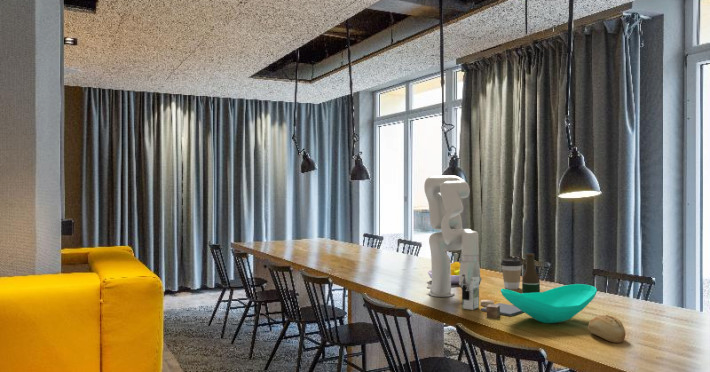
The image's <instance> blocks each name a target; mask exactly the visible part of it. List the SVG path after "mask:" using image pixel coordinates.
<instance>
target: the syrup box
mask: <svg viewBox="0 0 710 372" xmlns="http://www.w3.org/2000/svg"><path fill="white" fill-rule="evenodd" d="M465 284H466V282H465ZM466 286H467V285H465V287H466ZM468 291H469V300H464V299H463V292H462V291H461V308H462V309H464V310H470V311H474V310H476V309H478V308H480V285H479V276H478V277H473V278H471V284H470V285H469V289H468Z"/></svg>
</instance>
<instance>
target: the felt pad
mask: <svg viewBox="0 0 710 372" xmlns="http://www.w3.org/2000/svg"><path fill="white" fill-rule="evenodd" d="M494 305H500V316H507V317H513V316H516V315H519V314H522V313H524V312H523V311H522V310H520V309H519V308H517V307H516V306H514V305H513V304H507V303H501V302H499V303H494ZM480 311H481V312H486V313H487V311H486V306H483V307H481V308H480Z"/></svg>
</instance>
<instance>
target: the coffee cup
mask: <svg viewBox="0 0 710 372" xmlns="http://www.w3.org/2000/svg"><path fill="white" fill-rule="evenodd" d="M500 266H501V270H502V277H503V285H504V289H508V290H518V289H519V288H520V283H521V275H522V274H521V273H522V266H523V263H522V261H521V259H520V258H503V259H502V260H501V262H500Z"/></svg>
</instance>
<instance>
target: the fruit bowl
mask: <svg viewBox="0 0 710 372" xmlns="http://www.w3.org/2000/svg"><path fill="white" fill-rule="evenodd" d="M450 264H451V285H453V284H454V285H456V284H457V285H458V284H459V273H460V264H461V262H459V261H454V262H453V263H450ZM427 274H428V276H429V277H430V279H432V269H430V270H427Z"/></svg>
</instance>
